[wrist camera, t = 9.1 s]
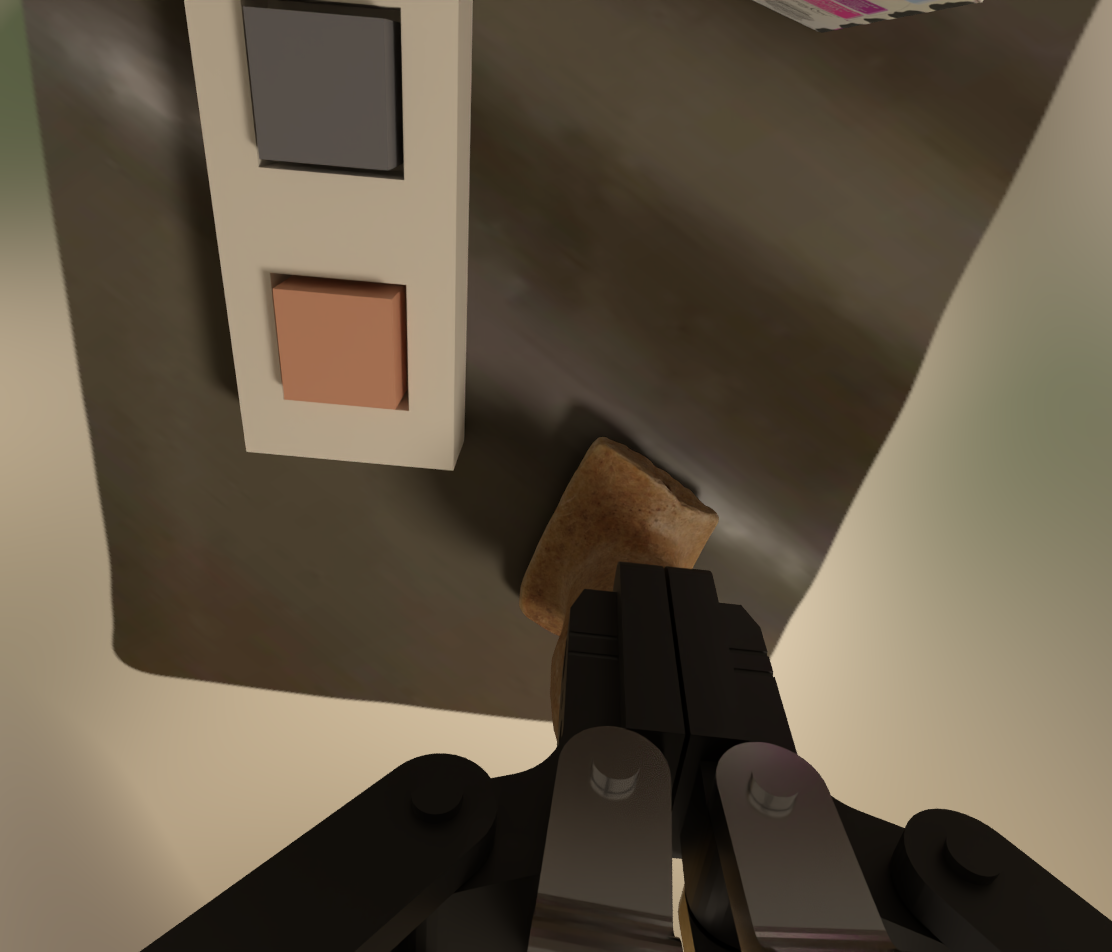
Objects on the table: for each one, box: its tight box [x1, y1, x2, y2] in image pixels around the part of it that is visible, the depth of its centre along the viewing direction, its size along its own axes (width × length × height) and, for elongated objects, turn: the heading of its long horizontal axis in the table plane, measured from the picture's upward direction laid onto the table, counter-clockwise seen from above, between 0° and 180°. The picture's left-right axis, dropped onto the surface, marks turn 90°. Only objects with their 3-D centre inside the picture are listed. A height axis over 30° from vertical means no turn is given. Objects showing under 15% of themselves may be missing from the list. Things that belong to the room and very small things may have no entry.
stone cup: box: [519, 437, 719, 739], centre depth 43 cm, size 15×12×15 cm
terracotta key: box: [273, 275, 408, 410], centre depth 40 cm, size 6×6×3 cm
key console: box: [184, 0, 473, 471], centre depth 38 cm, size 26×12×4 cm, turn 176°
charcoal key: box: [243, 6, 403, 170], centre depth 34 cm, size 6×6×3 cm
